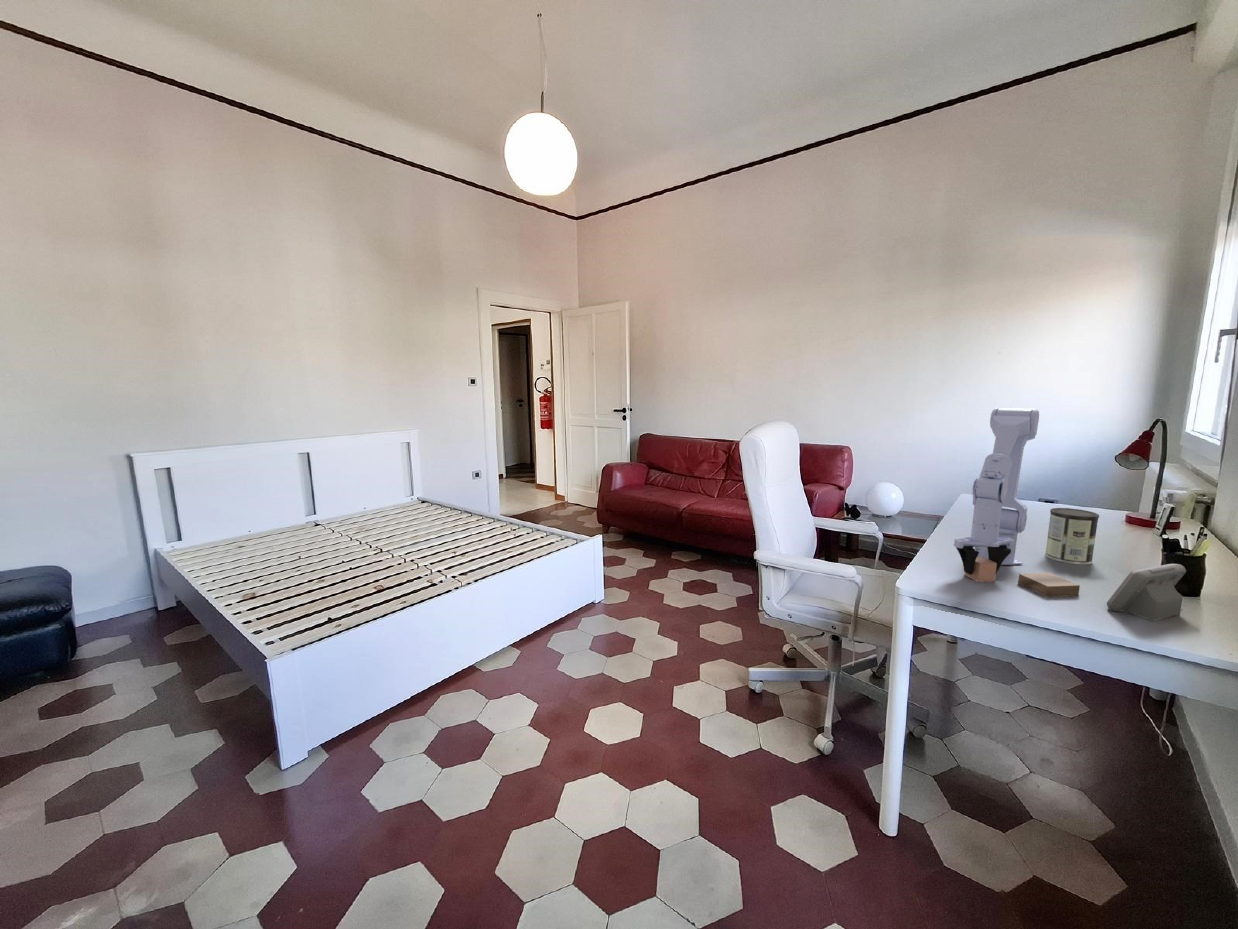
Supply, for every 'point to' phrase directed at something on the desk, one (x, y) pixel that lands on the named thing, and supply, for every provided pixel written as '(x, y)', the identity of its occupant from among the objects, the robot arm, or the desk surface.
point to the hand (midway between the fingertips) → (980, 572)
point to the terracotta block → (983, 570)
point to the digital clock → (1150, 592)
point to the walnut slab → (1049, 584)
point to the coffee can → (1071, 535)
